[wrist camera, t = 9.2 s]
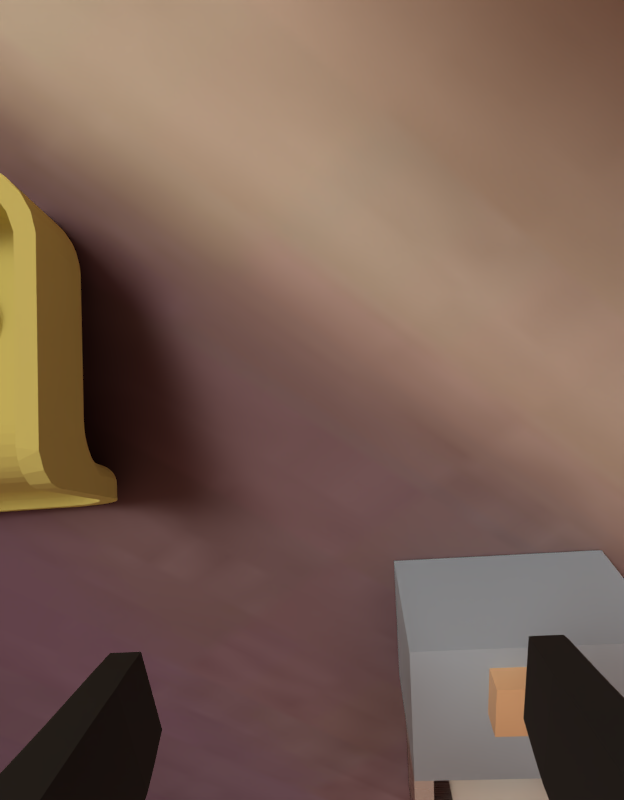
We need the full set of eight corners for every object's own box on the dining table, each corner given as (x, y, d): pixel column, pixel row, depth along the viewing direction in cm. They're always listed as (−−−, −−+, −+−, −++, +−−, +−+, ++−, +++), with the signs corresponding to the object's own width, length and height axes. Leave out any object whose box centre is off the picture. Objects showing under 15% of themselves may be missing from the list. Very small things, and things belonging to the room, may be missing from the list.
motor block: (601, 550, 20) (690, 663, 15) (587, 667, 22) (661, 801, 17) (393, 560, 20) (413, 673, 15) (399, 673, 22) (417, 805, 18)
